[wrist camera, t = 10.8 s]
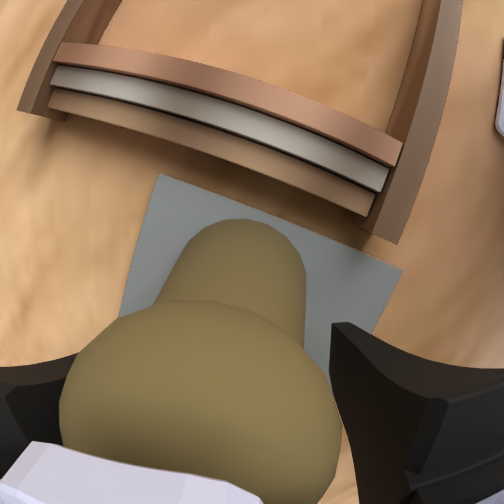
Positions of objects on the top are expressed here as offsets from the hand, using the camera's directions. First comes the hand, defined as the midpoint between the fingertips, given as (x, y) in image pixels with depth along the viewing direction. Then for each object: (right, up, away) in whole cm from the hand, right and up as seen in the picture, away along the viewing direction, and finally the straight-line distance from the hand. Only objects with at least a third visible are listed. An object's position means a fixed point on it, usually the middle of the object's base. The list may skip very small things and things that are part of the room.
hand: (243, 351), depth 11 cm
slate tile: (0, +1, +4) cm, 4 cm away
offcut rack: (0, +15, +1) cm, 15 cm away
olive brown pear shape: (0, +2, +3) cm, 4 cm away
